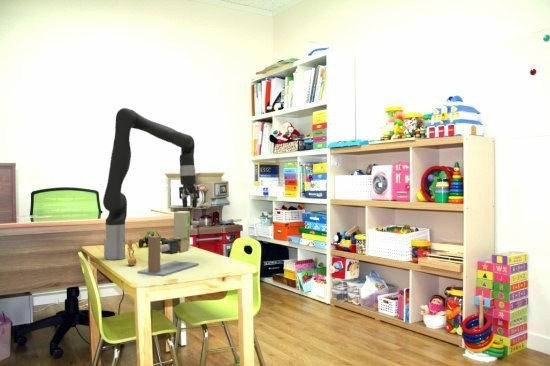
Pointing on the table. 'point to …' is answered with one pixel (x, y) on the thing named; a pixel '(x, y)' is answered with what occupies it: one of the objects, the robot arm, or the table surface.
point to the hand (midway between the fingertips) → (189, 207)
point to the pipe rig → (154, 260)
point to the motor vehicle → (145, 239)
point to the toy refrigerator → (182, 224)
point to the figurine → (132, 260)
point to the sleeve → (181, 244)
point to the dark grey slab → (172, 246)
